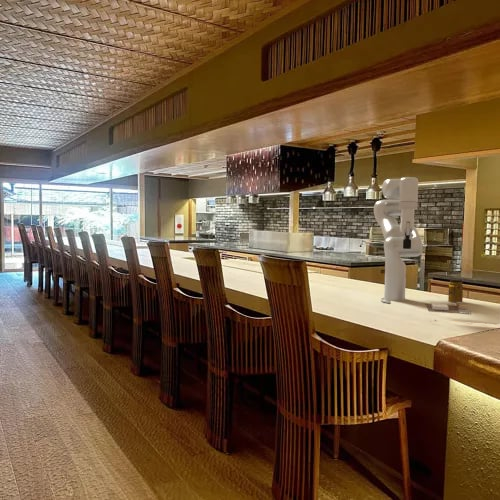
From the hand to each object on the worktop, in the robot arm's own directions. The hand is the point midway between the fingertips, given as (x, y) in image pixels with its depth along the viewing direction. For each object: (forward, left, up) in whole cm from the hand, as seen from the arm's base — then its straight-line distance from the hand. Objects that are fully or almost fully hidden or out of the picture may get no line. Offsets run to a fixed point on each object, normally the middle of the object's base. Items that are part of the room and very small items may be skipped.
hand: (406, 248), depth 188 cm
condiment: (-22, +24, -27) cm, 43 cm away
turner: (-2, +23, -26) cm, 34 cm away
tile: (-4, +14, -25) cm, 29 cm away
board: (-2, +17, -27) cm, 32 cm away
